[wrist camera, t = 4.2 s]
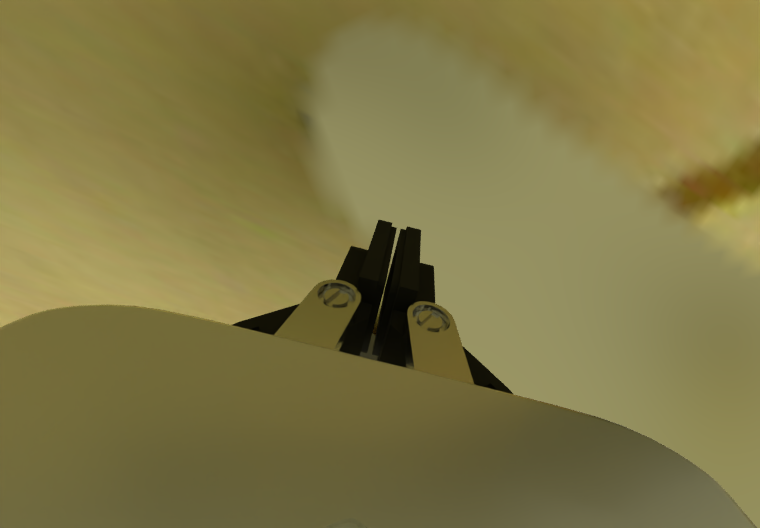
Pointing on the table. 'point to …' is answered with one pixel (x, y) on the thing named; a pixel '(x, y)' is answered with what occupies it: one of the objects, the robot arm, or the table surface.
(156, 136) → the table surface
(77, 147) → the table surface
